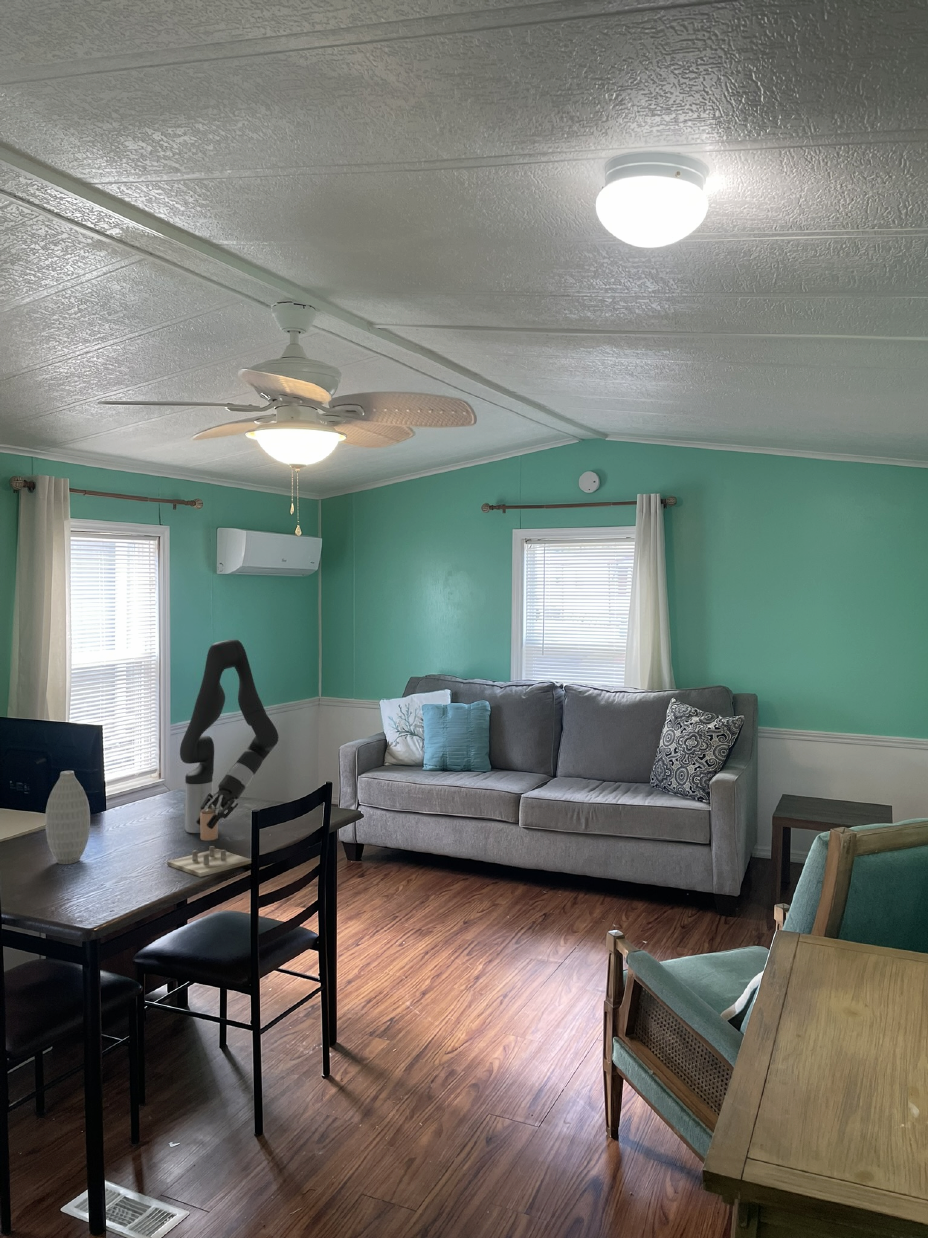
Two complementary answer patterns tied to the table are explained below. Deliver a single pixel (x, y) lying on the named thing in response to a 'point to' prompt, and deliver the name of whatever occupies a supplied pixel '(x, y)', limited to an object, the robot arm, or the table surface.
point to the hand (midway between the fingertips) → (203, 825)
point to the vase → (67, 819)
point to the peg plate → (212, 861)
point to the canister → (204, 829)
